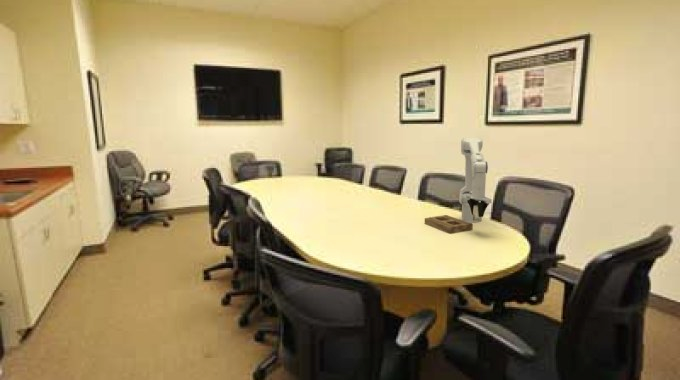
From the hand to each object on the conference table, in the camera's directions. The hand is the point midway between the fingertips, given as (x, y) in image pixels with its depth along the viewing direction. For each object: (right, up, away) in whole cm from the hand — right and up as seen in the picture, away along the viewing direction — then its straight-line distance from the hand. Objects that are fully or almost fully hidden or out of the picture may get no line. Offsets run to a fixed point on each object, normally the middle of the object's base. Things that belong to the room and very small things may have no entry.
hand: (477, 215), depth 177 cm
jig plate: (-10, -7, +15) cm, 19 cm away
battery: (0, -2, 0) cm, 2 cm away
